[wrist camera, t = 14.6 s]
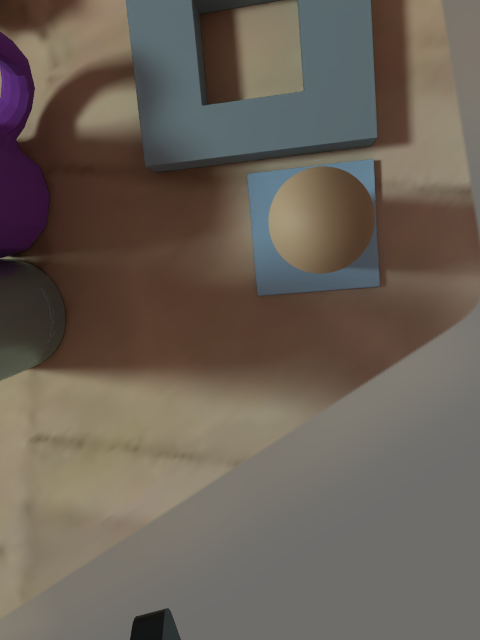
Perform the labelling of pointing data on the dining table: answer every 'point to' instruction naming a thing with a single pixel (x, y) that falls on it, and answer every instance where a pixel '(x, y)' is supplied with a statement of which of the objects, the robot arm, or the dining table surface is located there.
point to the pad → (282, 275)
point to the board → (258, 113)
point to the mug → (18, 157)
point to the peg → (321, 220)
